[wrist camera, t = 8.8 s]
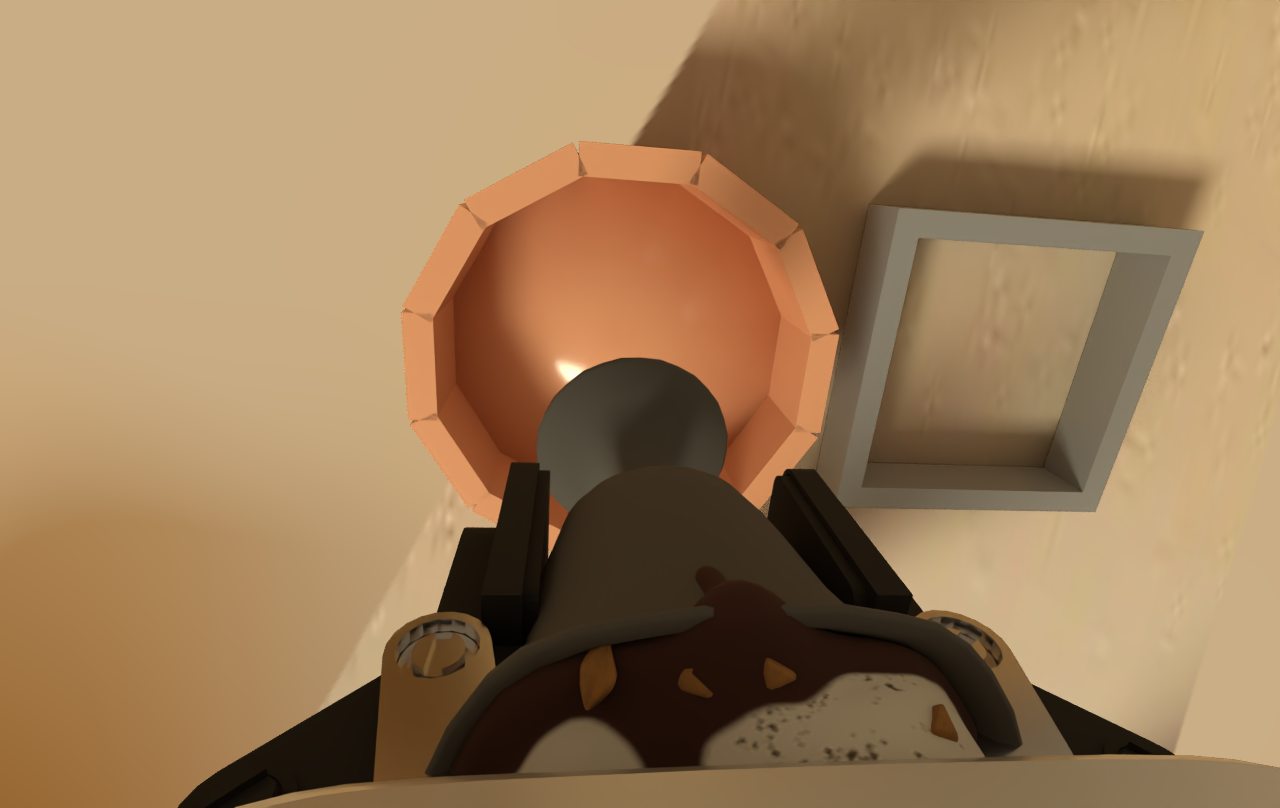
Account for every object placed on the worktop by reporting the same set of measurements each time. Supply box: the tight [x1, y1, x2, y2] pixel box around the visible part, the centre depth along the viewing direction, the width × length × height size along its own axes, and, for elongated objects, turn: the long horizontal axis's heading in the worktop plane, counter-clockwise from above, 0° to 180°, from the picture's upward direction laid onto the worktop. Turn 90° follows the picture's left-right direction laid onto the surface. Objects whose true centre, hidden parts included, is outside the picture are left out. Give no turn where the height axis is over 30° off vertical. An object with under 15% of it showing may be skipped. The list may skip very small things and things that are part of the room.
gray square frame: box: [817, 204, 1204, 512], centre depth 26 cm, size 12×12×2 cm
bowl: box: [401, 141, 839, 551], centre depth 24 cm, size 15×15×4 cm
